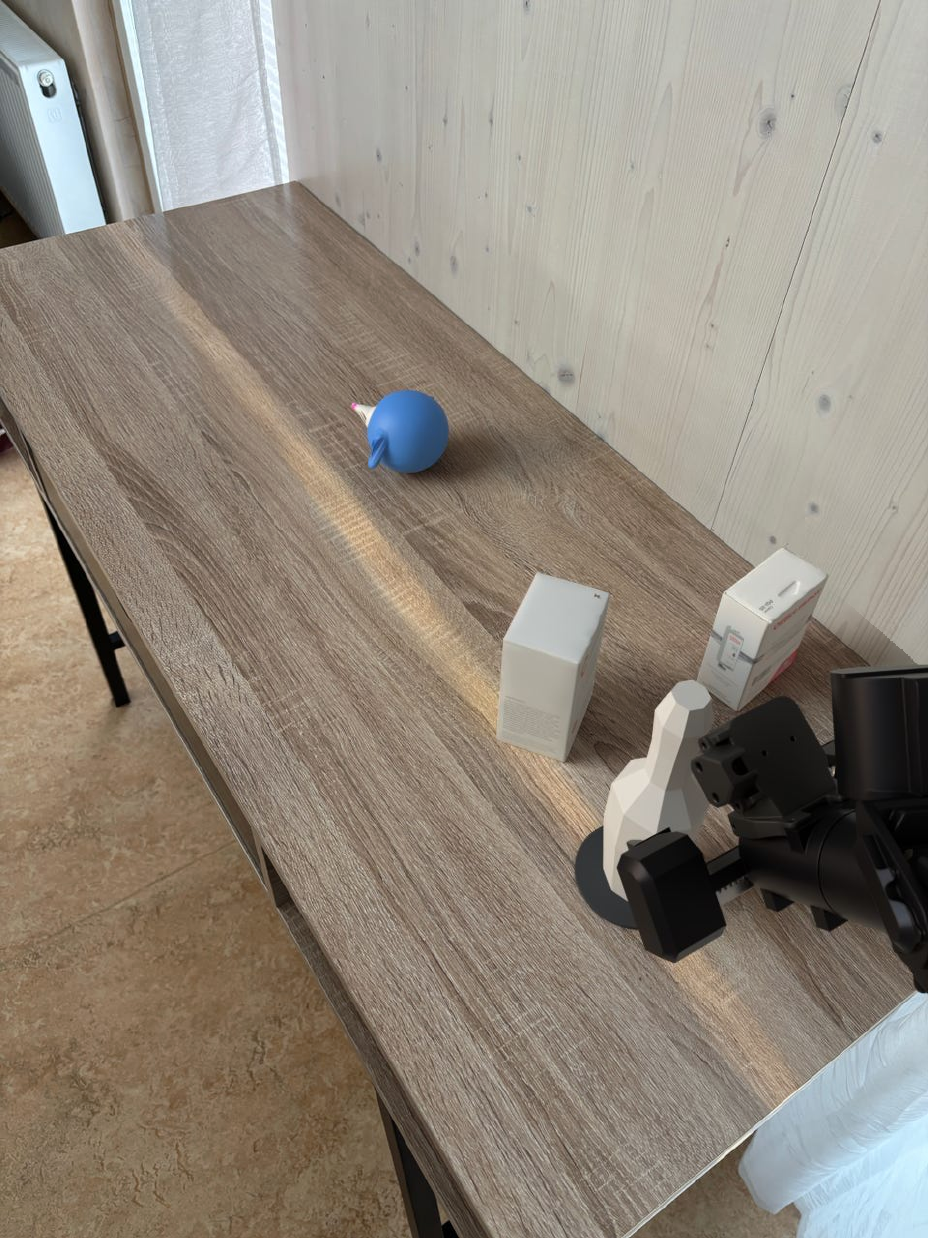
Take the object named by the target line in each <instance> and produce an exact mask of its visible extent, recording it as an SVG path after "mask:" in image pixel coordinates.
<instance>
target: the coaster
mask: <svg viewBox="0 0 928 1238" xmlns="http://www.w3.org/2000/svg"><path fill="white" fill-rule="evenodd" d="M603 856H604V824H603V825H601V826H599V827H598V828H595V829H594V830H592V832H590V833H589V834H588V835H587V836H586V837H585V838H584V839H583V841H582V842H581V843H580V846H579V848H578V850H577V853H576V856H575V861H574V876H575V878H574V879H575V883H576V886H577V888H578V891H579V893H580V895H581V897H582V899H583V900H584V902H585V903H586V904H587V905H588V907H589V908H590V909H591V910H592V911H593V912H594V913H596V914H597V915H598V916H600V917H601V918H602V919H604V920H606V921H607V922H608V923H611V924H613V925H615V926H618V927H621V928H624V929H629V930H637V931H638V928H637V925H636V923H635V920H634V917H633V914H632V911H631V908H630V905H629V902H628V901H626V900H625V899H623V898H622V897H621V896H619V895H618V894H616V893H615V892H613V891H612V890H611V888H610V885H609V883H608V880H607V877H606V874H605V871H604V869H603Z"/></svg>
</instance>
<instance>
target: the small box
mask: <svg viewBox="0 0 928 1238" xmlns="http://www.w3.org/2000/svg"><path fill="white" fill-rule="evenodd" d="M610 598H611V593H610V592H607V591H604V590H601V589H598V588H594V587H591V586H588V585H585V584H581V583H578V582H574V581H570V580H567V579H563V578H561V577H560V578H559V577H556V576H553V575H549V574H546V573H545V574H544V573H541V572H538V571H536V572H535V573H534V576H533V577H532V579H531V582H530V583H529V585H528V587H527V590H526V592H525V594H524V596H523V598H522V599H521V601H520V603H519V606H518V608H517V609H516V612H515V613H514V616H513V617H512V620H511V621H510V624H509V626H508V628H507V630H506V632H505V633H504V636H503V638H502V650H501V663H500V665H501V666H500V679H499V681H500V682H499V694H498V708H497V721H496V734H495V739H496V740H497V741H498V742H501V743H503V744H508V745H510V746H514V747H516V748H520V749H522V750H525V751H528V752H531V753H534V754H537V755H539V756H543V757H546V758H549V759H552V760H555V761H557V762H561V763H565V762H567V759H568V757H569V754H570V752H571V750H572V747H573V745H574V742H575V740H576V738H577V735H578V732H579V729H580V727H581V724H582V722H583V720H584V717H585V714H586V713H587V712H586V711H587V709H588V707H589V704H590V702H591V698H592V696H593V690H594V686H595V685H594V684H595V678H596V672H597V667H598V660H599V656H600V655H599V654H600V652H601V651H600V650H601V646H602V641H603V636H604V629H605V625H606V618H607V613H608V608H609V602H610Z"/></svg>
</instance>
